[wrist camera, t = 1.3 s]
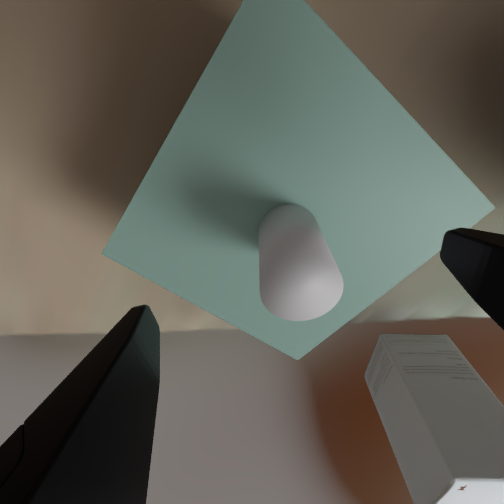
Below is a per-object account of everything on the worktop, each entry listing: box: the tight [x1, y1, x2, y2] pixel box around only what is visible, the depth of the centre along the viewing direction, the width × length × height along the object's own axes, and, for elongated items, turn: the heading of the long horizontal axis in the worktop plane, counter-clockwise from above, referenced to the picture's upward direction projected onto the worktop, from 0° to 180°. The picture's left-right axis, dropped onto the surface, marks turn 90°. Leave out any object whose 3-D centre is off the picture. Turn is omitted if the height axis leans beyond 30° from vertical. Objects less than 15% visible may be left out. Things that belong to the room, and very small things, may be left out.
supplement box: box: [364, 333, 504, 504], centre depth 25 cm, size 7×7×13 cm
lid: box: [102, 0, 496, 360], centre depth 13 cm, size 15×15×6 cm
